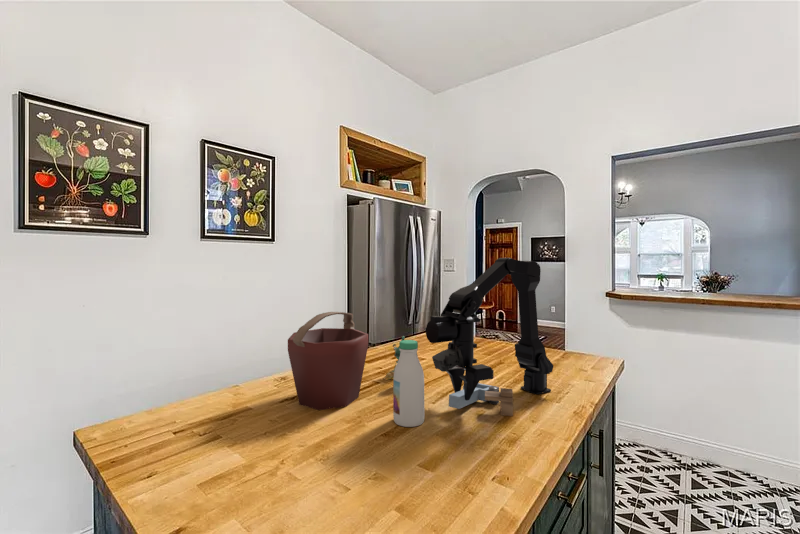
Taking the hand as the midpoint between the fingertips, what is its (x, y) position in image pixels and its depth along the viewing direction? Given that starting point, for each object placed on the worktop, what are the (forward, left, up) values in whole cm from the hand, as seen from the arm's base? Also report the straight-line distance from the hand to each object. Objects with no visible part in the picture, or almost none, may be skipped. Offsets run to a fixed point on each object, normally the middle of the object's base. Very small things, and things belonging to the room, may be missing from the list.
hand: (462, 397), depth 103 cm
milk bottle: (+16, 0, -3) cm, 17 cm away
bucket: (+29, -24, -4) cm, 38 cm away
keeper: (-7, +6, -3) cm, 10 cm away
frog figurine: (-1, -35, -4) cm, 35 cm away
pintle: (-11, 0, -3) cm, 11 cm away
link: (-4, -2, -2) cm, 5 cm away
